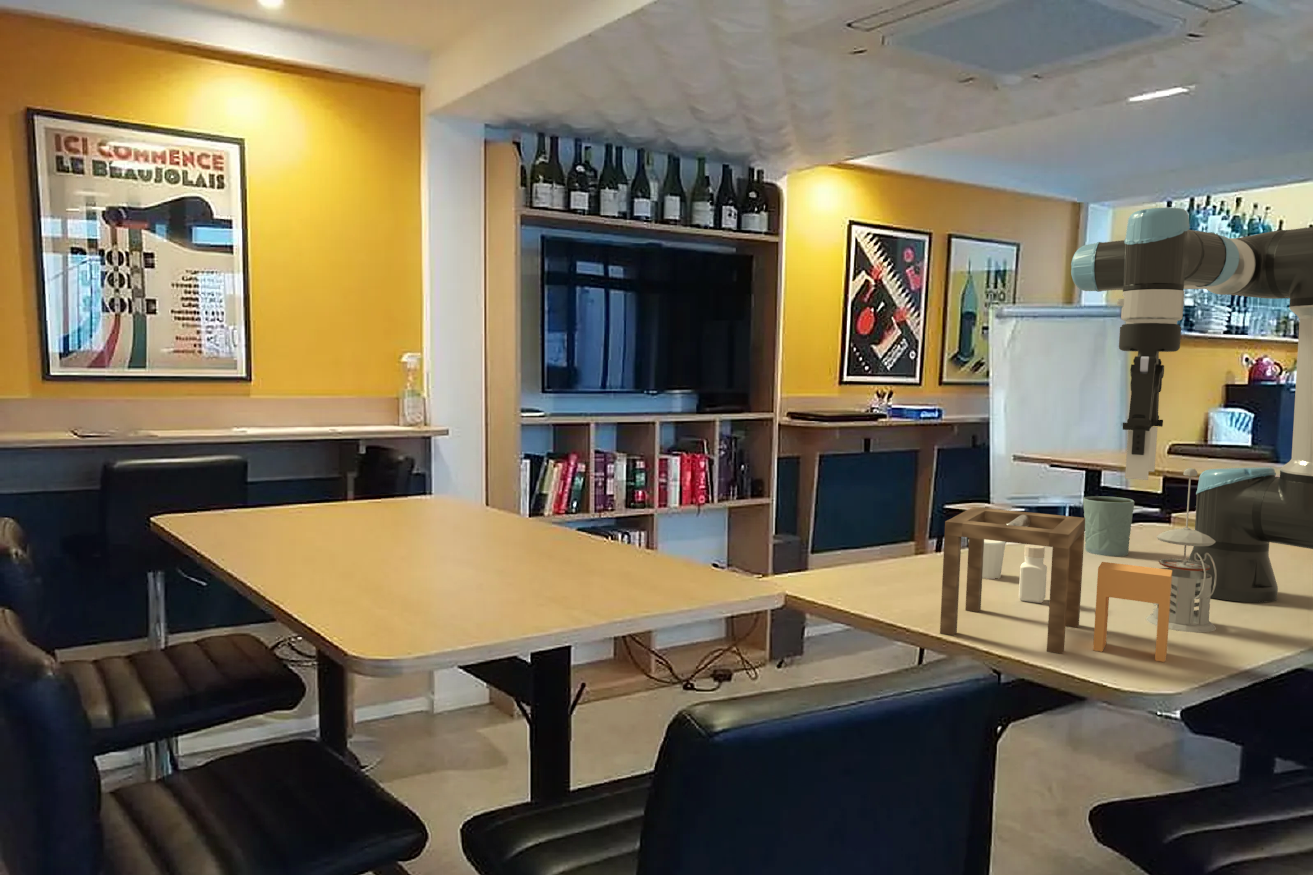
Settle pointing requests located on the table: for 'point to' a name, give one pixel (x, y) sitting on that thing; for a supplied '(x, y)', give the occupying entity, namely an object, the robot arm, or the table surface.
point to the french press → (1188, 580)
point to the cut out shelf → (1025, 530)
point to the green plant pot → (1107, 525)
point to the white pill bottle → (1033, 575)
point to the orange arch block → (1133, 598)
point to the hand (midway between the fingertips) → (1140, 475)
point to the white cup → (992, 558)
